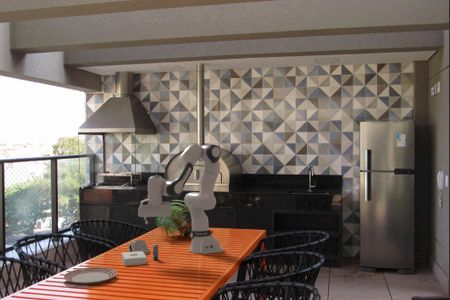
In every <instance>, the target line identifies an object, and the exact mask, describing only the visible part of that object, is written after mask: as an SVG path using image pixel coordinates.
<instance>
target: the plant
mask: <svg viewBox="0 0 450 300" xmlns="http://www.w3.org/2000/svg"><path fill="white" fill-rule="evenodd" d="M175 201H176V202H175ZM181 202H182V203H185V202H184V200H180V199H179V200H178V199H174V200H172V203H171V202H170V203H171V208H170V209H171V216H167V217H165V220H164V221H163V224H161V221H162V220H163V217H156V218H154V220H155V221H154V223H155V224H156V226H157V227H158V229H159V228H160V229H161V231H162V232H164V233H165V238H167V237H168V236H169V235H173V237H176V235H177V234H179V235H180V236H183V238H185V239H186V238H188V237H190V236H191V230H192V221H190V218H188V219H185V218H187V216H188V214H184V213H185V212H190V211H189V209H188V207H187V206H186V205H185V204H182V203H181ZM177 205H180V207H179V206H177ZM187 221H188V222H187Z"/></svg>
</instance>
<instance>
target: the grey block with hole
mask: <svg viewBox="0 0 450 300" xmlns="http://www.w3.org/2000/svg"><path fill="white" fill-rule="evenodd" d="M147 257H148V256H146V254H144V253H143V251H137V252H129V251H125V252H121V260H122V263H123V266H125V267H126V266H136V265H137V266H138V265H147V261H148V260H147Z"/></svg>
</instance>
